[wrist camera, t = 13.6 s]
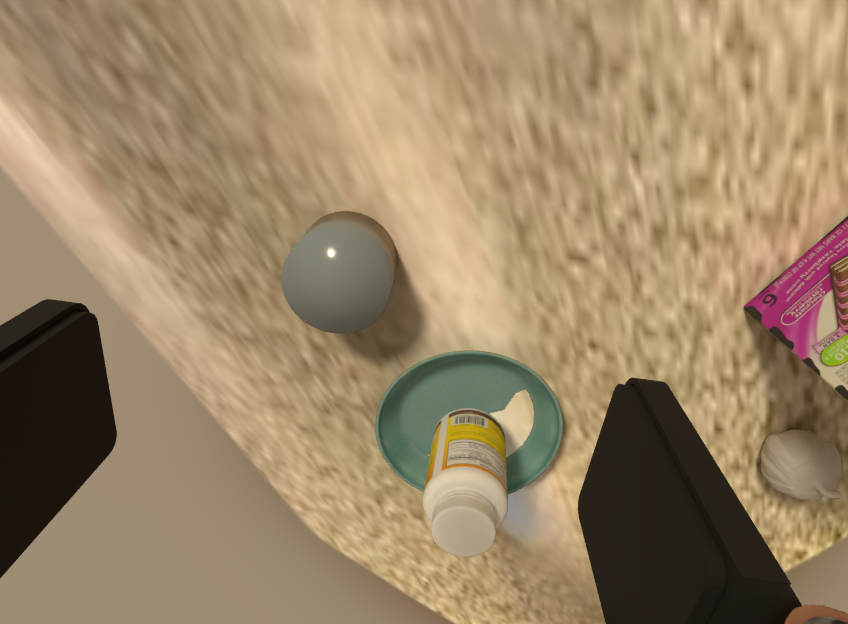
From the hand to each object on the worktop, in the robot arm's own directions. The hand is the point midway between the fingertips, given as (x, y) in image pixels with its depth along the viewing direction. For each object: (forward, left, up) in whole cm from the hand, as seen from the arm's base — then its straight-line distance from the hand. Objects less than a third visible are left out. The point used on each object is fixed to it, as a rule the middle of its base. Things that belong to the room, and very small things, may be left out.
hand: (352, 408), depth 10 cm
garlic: (-33, +18, -29) cm, 47 cm away
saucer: (-7, +20, -29) cm, 36 cm away
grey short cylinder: (+4, +8, -28) cm, 30 cm away
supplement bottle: (-7, +20, -26) cm, 34 cm away
